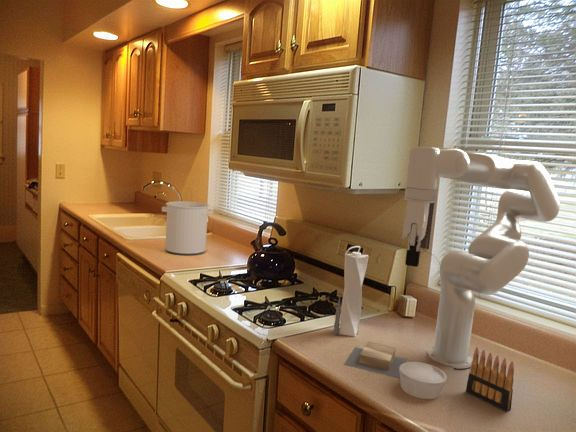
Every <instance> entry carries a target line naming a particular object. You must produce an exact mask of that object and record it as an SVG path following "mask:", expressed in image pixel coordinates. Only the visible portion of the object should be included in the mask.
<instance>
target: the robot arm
mask: <svg viewBox="0 0 576 432" xmlns="http://www.w3.org/2000/svg"><path fill="white" fill-rule="evenodd" d="M439 178H443V179H450V180H454V181H460V182H464V183H468V184H475V185H481V186H487V187H493V188H499V189H504V190H505V191H504V192H503V193H502V194H501V195H500V197H499V200H498V205H497V213H496V214H497V215H496V219H495V221H494V223H492V225H490V226H489V227H488V228H487V229H485V230H484V231H483V232H481V233H480V234H479V235H477V236H476V237H475V238H474V239H473V240H472V241H471V242H470V244H469V245H468V250H467V252H464V251H459V250H453V251H449V252H448V253H446V254H445V255H444V256H443V257H442V259H441V261H440V265H439V275H440V276H439V277H440V292H439V293H440V294H439V303H438V308H437V309H438V311H437V319H436V325H435V326H436V327H435V333H434V342H433V346H432V347H430V348H428V350H427V353H426V354H427V356H428V357H429V359H431V360H432V361H434V362H435V363H438V364H440V365H442V366H447V367H451V368H453V369H457V370H458V369H459V370H463V369H469V368H471V363H472V360H473V357H472V356H471V355H470V354H469V350H470V345H471V336H472V328H473V323H474V314H475V308H476V300H475V299H476V298H475V295H474V293H476V294H480V295H484V296H493V295H496V294H497V293H499V292H500V291H501V290H503V288H504V287H506V286H507V285H508V284H509V283H510V282H512V281H513V280H514V279H515V278H517V276H518V275H520V273H521V272H523V270H524V269H525V268H526V266H527V264H528V261H529V259H530V258H529V257H530V253H529V252H530V251H529V248H528V246H527V244H526V243H524V242H523V241H522V240H521V238H522V229H521V225H520V221H519V219H525V220H530V221H535V222H542V223H547V222H551V221H554V220H555V218H556V217H557V216H558V215H559V212H560V208H561V207H560V206H561V205H560V200H559V196H558V194H557V191H556V189H555V186H554V184H553V181H552V179H551V176H550V174H549V173H548V171H547V169H546V168H545V167H544V165H543V164H541V163H540V162H538V161H534V160H523V159H522V160H520V159H518V160H517V159H512V158H505V157H501V156H497V155H492V154H488V153H481V152H465V151H464V150H462V149H459V148H452V147H450V148H449V147H437V146H436V147H434V146H422V145H421V146H413V147H411V148H410V151H409V156H408V165H407V174H406V182H405V183H406V184H405V190H404V191H405V192H404V200H405V201H407V204H406V209H405V216H404V222H403V227H402V235H401V238H402V240H405V239H407V238H408V241H407V249H406V255H405V262H404V263H405V266H410V267H415V268H418V266H419V265H420V257H421V250H420V249H421V242H422V240H423V239H424V238H425V236H426V231H427V226H428V220H429V212H430V204H433V203H434V204H435V202H436V195H437V187H438V186H437V184H438V179H439Z"/></svg>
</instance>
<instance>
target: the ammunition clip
mask: <svg viewBox="0 0 576 432" xmlns="http://www.w3.org/2000/svg"><path fill="white" fill-rule="evenodd" d="M479 355H480V357H479ZM479 358H480V359H479ZM472 359H473V360H472V363H471V367H470V369H469V372H468V376H467V383H466V388H465V393H467V394H469V395H471V396H472V397H475V398H477V399H479V400H480V401H484V402H486V403H487V404H490V405H491V406H493V407H496V408H497V409H500V410H502V411H503V412H506V413H508V412H510V411H511V410H512V401H513V390H514V388H513V384H514V373H515V365H514V364H515V363H514V361H510V363H509V366H508V369H507V359H506V357H504V358H503V360H502V362H501V365H500V357H499V355H498V354H497V355H496V356H495V358H494V361H493V354H492V352H489V354H488V355H487V358H486V350H485V349H483V350H482V351H481V353H480V352H479V348H478V346H477V347H476V348H475V350H474V353H473V357H472ZM492 364H493V365H492ZM499 367H500V369H499ZM506 373H507V374H506Z"/></svg>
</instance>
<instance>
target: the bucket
mask: <svg viewBox="0 0 576 432" xmlns="http://www.w3.org/2000/svg"><path fill="white" fill-rule="evenodd" d="M165 205H166V206H162V207H161V212H164V213H166V223H165V224H166V225H165V245H164V247H165V251H166V252H167V253H168V254H172V255H179V256H195V255H201V254H204V253H205V252H206V248H207V246H206V245H207V233H208V231H207V230H208V228H207V227H208V215H211V216H213V214H214V209H209V207H210V204H207V203H204V202H198V201H182V200H181V201H180V200H177V201H167V202H165Z"/></svg>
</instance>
